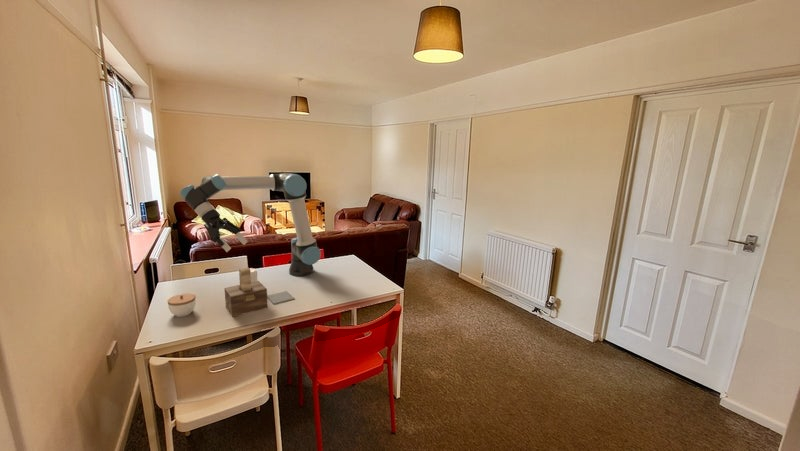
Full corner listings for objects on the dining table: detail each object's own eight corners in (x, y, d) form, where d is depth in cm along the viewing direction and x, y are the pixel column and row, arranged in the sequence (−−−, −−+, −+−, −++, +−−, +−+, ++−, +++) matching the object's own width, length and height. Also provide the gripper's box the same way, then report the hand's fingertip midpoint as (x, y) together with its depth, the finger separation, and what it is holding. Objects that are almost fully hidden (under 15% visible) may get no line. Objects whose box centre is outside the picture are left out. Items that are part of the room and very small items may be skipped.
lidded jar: (194, 306, 157) (192, 288, 155) (198, 314, 150) (197, 296, 148) (167, 312, 150) (165, 293, 148) (170, 321, 143) (168, 302, 141)
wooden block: (240, 295, 158) (238, 268, 155) (249, 293, 160) (247, 267, 157) (242, 298, 155) (241, 271, 152) (251, 296, 157) (250, 269, 154)
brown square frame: (225, 307, 158) (224, 288, 156) (259, 298, 168) (258, 281, 166) (232, 317, 149) (231, 297, 147) (267, 308, 159) (267, 289, 157)
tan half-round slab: (242, 295, 172) (240, 273, 169) (241, 289, 179) (240, 268, 176) (258, 292, 176) (257, 271, 173) (257, 287, 182) (256, 267, 180)
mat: (266, 296, 171) (266, 295, 171) (286, 292, 178) (286, 291, 178) (273, 304, 163) (273, 303, 163) (294, 299, 170) (294, 298, 170)
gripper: (219, 214, 169) (247, 245, 170) (183, 222, 144) (215, 258, 146) (229, 205, 167) (256, 236, 169) (194, 212, 143) (226, 248, 145)
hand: (237, 246), depth 158 cm, fingers open, 13 cm apart
